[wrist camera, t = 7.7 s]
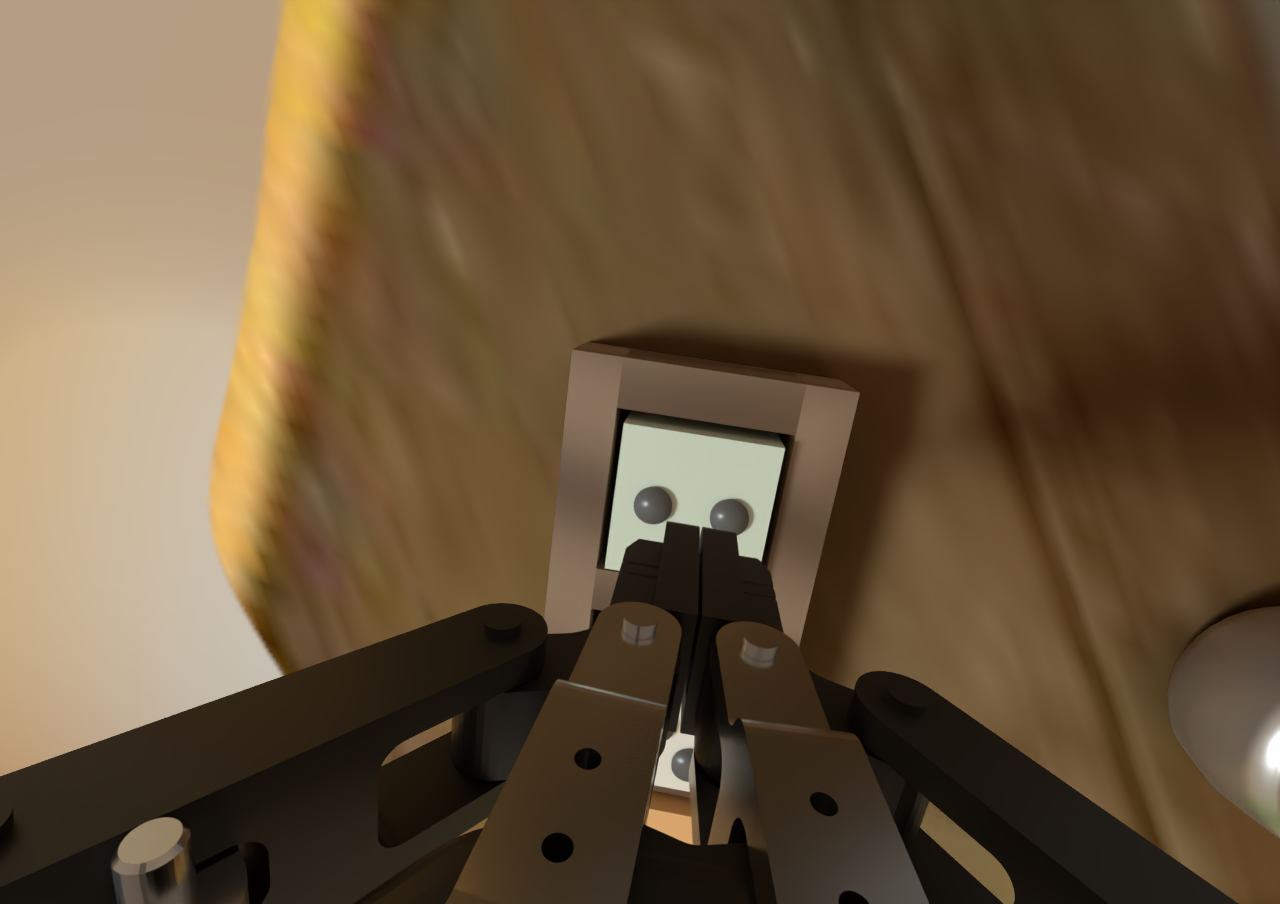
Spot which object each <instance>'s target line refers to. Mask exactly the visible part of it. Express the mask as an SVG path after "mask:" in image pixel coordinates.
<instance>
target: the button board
mask: <svg viewBox="0 0 1280 904" xmlns="http://www.w3.org/2000/svg"><path fill="white" fill-rule="evenodd" d="M859 395H860V392H858V391H857V390H855V389H854V388H852V387H851V386H849V385H848V384H846V383H845V382H843V381H842V380H840V379H836V378H829V377H822V376H816V375H809V374H802V373H795V372H789V371H782V370H775V369H769V368H762V367H755V366H748V365H742V364H735V363H728V362H721V361H715V360H708V359H701V358H695V357H688V356H681V355H674V354H668V353H661V352H654V351H648V350H641V349H634V348H627V347H621V346H614V345H607V344H600V343H594V342H587V343H585V344H582V345H580V346H578V347H576V348H574V349H572V357H571V366H570V376H569V385H568V395H567V404H566V414H565V424H564V433H563V443H562V452H561V462H560V471H559V481H558V491H557V500H556V510H555V519H554V529H553V539H552V548H551V558H550V567H549V577H548V586H547V596H546V606H545V615H544V620H545V621H546V623H547V626H548V634H558V633H574V632H579V631H583V630H587V629H589V628H592V627H593V626H594V624H595V621H596V619H597V617H598V610H603V609H605V608H606V607H608V606H610V603H611V599H612V596H613V592H614V589H615V585H616V582H617V578H618V575H619V571H618V570H612V569H606V568H605V561H606V554H607V546H608V539H609V536H608V533H609V526H610V518H611V511H612V503H613V496H614V488H615V480H616V473H617V465H618V458H619V450H620V443H621V435H622V427H623V420H624V412H625V409H628V410H634V411H641V412H647V413H653V414H660V415H666V416H673V417H679V418H686V419H692V420H699V421H705V422H712V423H718V424H725V425H731V426H738V427H744V428H750V429H757V430H763V431H770V432H776V433H781V434H780V439H781V441H782V443H783V445H784V447H785V452H784V456H783V461H782V466H781V471H780V475H779V480H778V485H777V489H776V494H775V499H774V504H773V508H772V513H771V518H770V523H769V527H768V532H767V537H766V542H765V546H764V551H763V556H762V561H761V562H762V563H763V565H764V566H765V567H766V568H767V569H768V570H769V571H770V572H771V576H772V581H773V589H774V590H775V595H776V600H777V604H778V609H779V613H780V618H781V623H782V627H783V632H784V634H786V635H787V636H789V637H790V638H791V639H792V640H793V641H794V642H795V643H796V644H797V645H798V646H799V645H800V640H801V636H802V632H803V628H804V624H805V620H806V616H807V611H808V607H809V603H810V599H811V595H812V591H813V586H814V582H815V578H816V574H817V570H818V566H819V561H820V557H821V553H822V549H823V545H824V541H825V536H826V532H827V528H828V524H829V520H830V516H831V512H832V507H833V503H834V499H835V495H836V491H837V487H838V482H839V478H840V474H841V470H842V466H843V462H844V457H845V453H846V449H847V445H848V441H849V437H850V432H851V428H852V424H853V420H854V416H855V412H856V408H857V403H858V399H859ZM653 791H657V792H662V793H667V794H673V795H678V796H683V797H688V798H690V792H687V791H682V790H676V789H671V788H666V787H661V786H655V785H654V788H653Z"/></svg>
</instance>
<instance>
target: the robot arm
mask: <svg viewBox="0 0 1280 904" xmlns="http://www.w3.org/2000/svg"><path fill="white" fill-rule="evenodd" d="M680 708H681V721H680V733H682V734H688V735H693V736H694V749H693V754H692V759H691V764H690V769H689V789H690V805H691V822H692V839H693V845H692V844H688V843H685V842H683V841H680V840H678V839H676V838H674V837H671V836H669V835H667V834H665V833H662V832H660V831H658V830H656V829H654V828H651V827H649V826H647V825H646V824H647V819H648V814H649V808H650V803H651V798H652V793H653V788H654V783H655V777H656V772H657V767H658V761H659V757H660V756H661V754H662V753H663V751H664V749H665V745H666V740H667V734H668V731H671V732H676V730H677V724H678V719H679V714H680ZM450 718H452V731H451V732H449V733H447V734H445V735H443V736H441V737H439V738H437V739H435V740H433V741H431V742H429V743H427V744H425V745H423V746H421V747H419V748H417V749H415V750H413V751H411V752H409V753H407V754H405V755H403V756H401V757H399V758H397V759H395V760H393V761H391V762H389V763H387V764H385V765H383V766H381V765H382V763H383V761H384V760H385V758H386V757H387V756H388V754H389V753H390V752H391V751H392V750H393V749H394V748H395V747H396V746H398V745H399V744H400V743H402V742H403V741H405V740H407V739H409V738H411V737H413V736H415V735H417V734H419V733H421V732H423V731H426V730H428V729H430V728H432V727H434V726H436V725H438V724H440V723H442V722H444V721H446V720H448V719H450ZM929 801H930V802H932V803H933V804H934V805H935V806H936V807H937V808H939V809H940V810H941V811H942V812H943V813H944V814H946V815H947V816H948V817H949V818H950V819H951V820H952V821H954V822H955V823H956V824H957V825H958V826H959V827H961V828H962V829H963V830H964V831H965V832H966V833H968V834H969V835H970V836H971V837H972V838H973V839H975V840H976V841H977V842H978V843H979V844H980V845H982V846H983V847H984V848H985V849H986V850H987V851H988V852H990V853H991V854H992V855H993V856H994V857H995V858H996V859H997V860H998V861H999V862H1000V863H1001V864H1002V866H1003V867H1004V869H1005V870H1006V872H1007V873H1008V875H1009V877H1010V879H1011V881H1012V884H1013V887H1014V892H1015V901H1014V904H1238V903H1237V902H1235V901H1234V900H1232V899H1231V898H1229V897H1228V896H1227V895H1225V894H1224V893H1222V892H1221V891H1219V890H1218V889H1217V888H1215V887H1214V886H1212V885H1211V884H1209V883H1208V882H1207V881H1205V880H1204V879H1202V878H1201V877H1199V876H1198V875H1197V874H1195V873H1194V872H1192V871H1191V870H1189V869H1188V868H1187V867H1185V866H1184V865H1182V864H1181V863H1179V862H1178V861H1177V860H1175V859H1174V858H1172V857H1171V856H1169V855H1168V854H1166V853H1165V852H1164V851H1162V850H1161V849H1159V848H1158V847H1156V846H1155V845H1154V844H1152V843H1151V842H1149V841H1148V840H1146V839H1145V838H1144V837H1142V836H1141V835H1139V834H1138V833H1136V832H1135V831H1134V830H1132V829H1131V828H1129V827H1128V826H1126V825H1125V824H1124V823H1122V822H1121V821H1119V820H1118V819H1116V818H1115V817H1114V816H1112V815H1111V814H1109V813H1108V812H1106V811H1105V810H1104V809H1102V808H1101V807H1099V806H1098V805H1096V804H1095V803H1093V802H1092V801H1091V800H1089V799H1088V798H1086V797H1085V796H1083V795H1082V794H1081V793H1079V792H1078V791H1076V790H1075V789H1073V788H1072V787H1071V786H1069V785H1068V784H1066V783H1065V782H1063V781H1062V780H1061V779H1059V778H1058V777H1056V776H1055V775H1053V774H1052V773H1051V772H1049V771H1048V770H1046V769H1045V768H1043V767H1042V766H1041V765H1039V764H1038V763H1036V762H1035V761H1033V760H1032V759H1030V758H1029V757H1028V756H1026V755H1025V754H1023V753H1022V752H1020V751H1019V750H1018V749H1016V748H1015V747H1013V746H1012V745H1010V744H1009V743H1008V742H1006V741H1005V740H1003V739H1002V738H1000V737H999V736H998V735H996V734H995V733H993V732H992V731H990V730H989V729H988V728H986V727H985V726H983V725H982V724H980V723H979V722H978V721H976V720H975V719H973V718H972V717H970V716H969V715H968V714H966V713H965V712H963V711H962V710H960V709H959V708H957V707H956V706H955V705H953V704H952V703H950V702H949V701H947V700H946V699H945V698H943V697H942V696H940V695H939V694H937V693H936V692H935V691H933V690H932V689H930V688H929V687H927V686H925V685H924V684H922V683H920V682H918V681H916V680H914V679H911V678H909V677H906V676H903V675H900V674H896V673H892V672H885V671H874V672H869V673H865V674H863V675H862V676H860V677H859V678H858V680H857V682H856V685H855V688H854V690H852V689H850V688H847V687H844V686H842V685H839V684H837V683H834V682H832V681H829V680H827V679H824V678H822V677H820V676H818V675H816V674H814V673H813V672H811V671H810V670H808V668H807V665H806V662H805V659H804V657H803V654H802V652H801V650H800V648H799V646H798V645H797V644H796V643H795V642H794V641H793V640H792V639H791V638H790V637H789V636H787V635H786V634H784V632H783V627H782V623H781V618H780V613H779V609H778V604H777V600H776V595H775V590H774V589H773V581H772V576H771V572H770V571H769V570H768V569H767V568H766V567H765V566H764V565H763V563H762V562H761V561H760V560H759V559H757V558H751V557H745V556H739V550H738V542H737V534H736V532H732V531H726V530H720V529H714V528H708V527H702V530H701V534H700V526H695V525H689V524H683V523H677V522H671V521H667V522H666V528H665V535H664V541H663V543H662V542H656V541H650V540H644V539H638V540H636V541H635V542H633V543H632V544H631V545H629V546H628V547H626V550H625V553H624V557H623V561H622V564H621V568H620V571H619V575H618V578H617V582H616V585H615V589H614V592H613V596H612V599H611V603H610V606H608V607H606V608H605V609H603V610H602V611H601V612H600V614H599V615H598V617H597V619H596V621H595V624H594V626H593V627H592V628H589V629H587V630H583V631H579V632H574V633H558V634H548V626H547V623H546V621H545V620H544V618H543V617H542V616H541V615H540V614H538V613H537V612H535V611H534V610H532V609H529V608H527V607H524V606H521V605H516V604H508V603H497V604H489V605H484V606H480V607H477V608H474V609H471V610H468V611H466V612H463V613H460V614H457V615H454V616H452V617H449V618H446V619H443V620H440V621H437V622H435V623H432V624H429V625H426V626H423V627H421V628H418V629H415V630H412V631H409V632H406V633H404V634H401V635H398V636H395V637H392V638H389V639H387V640H384V641H381V642H378V643H375V644H373V645H370V646H367V647H364V648H361V649H358V650H356V651H353V652H350V653H347V654H344V655H342V656H339V657H336V658H333V659H330V660H327V661H325V662H322V663H319V664H316V665H313V666H311V667H308V668H305V669H302V670H299V671H296V672H294V673H291V674H288V675H285V676H282V677H280V678H277V679H274V680H271V681H268V682H265V683H263V684H260V685H257V686H254V687H252V688H249V689H246V690H243V691H240V692H238V693H235V694H232V695H229V696H226V697H223V698H220V699H218V700H215V701H212V702H209V703H206V704H203V705H201V706H198V707H195V708H192V709H189V710H187V711H184V712H181V713H178V714H176V715H172V716H170V717H167V718H164V719H161V720H158V721H155V722H153V723H150V724H147V725H144V726H142V727H139V728H136V729H133V730H130V731H127V732H125V733H122V734H119V735H116V736H113V737H110V738H108V739H105V740H102V741H99V742H96V743H93V744H91V745H88V746H85V747H82V748H80V749H77V750H74V751H71V752H68V753H65V754H63V755H60V756H57V757H54V758H51V759H48V760H45V761H43V762H40V763H37V764H35V765H31V766H29V767H26V768H23V769H20V770H17V771H15V772H12V773H9V774H6V775H3V776H0V904H1003V903H1002V902H1001V901H1000V900H999V899H998V898H996V897H995V896H994V895H993V894H992V893H991V892H990V891H989V890H988V889H987V888H986V887H984V886H983V885H982V884H981V883H980V882H979V881H978V880H977V879H976V878H975V877H973V876H972V875H971V874H970V873H969V872H968V871H967V870H966V869H965V868H964V867H962V866H961V865H960V864H959V863H958V862H957V861H956V860H955V859H954V858H953V857H952V856H950V855H949V854H948V853H947V852H946V851H945V850H944V849H943V848H942V847H941V846H939V845H938V844H937V843H936V842H935V841H934V840H933V839H932V838H931V837H930V836H929V835H927V834H926V833H925V832H924V831H923V830H922V829H921V828H920V825H921V822H922V820H923V817H924V814H925V811H926V808H927V806H928V803H929ZM487 817H488V819H487V821H486V823H485V826H484V828H482V829H478V830H475V831H472V832H469V833H467V834H464V835H462V836H459V835H461V834H462V833H464V832H465V831H467V830H469V829H470V828H472V827H473V826H475V825H476V824H478V823H479V822H481V821H482V820H484V819H486V818H487ZM458 836H459V837H458ZM456 837H457V838H456Z"/></svg>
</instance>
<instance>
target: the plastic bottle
mask: <svg viewBox="0 0 1280 904" xmlns="http://www.w3.org/2000/svg"><path fill="white" fill-rule="evenodd" d="M1167 691H1168V706H1169V716H1170V723H1171V726H1172V729H1173V732H1174V734H1175V737H1176V738H1177V740H1178V741H1179V743H1180V744H1181V746H1182V747H1183V749H1184V750H1185V751H1186V753H1187V754H1188V755H1189V757H1190V758H1191V759H1192V761H1193V762H1194V763H1195V764H1196V766H1197V767H1198V768H1199V770H1200V771H1201V772H1202V774H1203V775H1204V776H1205V778H1206V779H1207V780H1208V782H1209V783H1210V784H1211V785H1212V786H1213V787H1214V788H1215V789H1216V790H1217V791H1219V792H1220V793H1221V794H1222V795H1223V796H1224V797H1225V798H1227V799H1228V800H1229V801H1231V802H1232V803H1233V804H1234V805H1236V806H1237V807H1238V808H1240V809H1241V810H1242V811H1244V812H1245V813H1246V814H1247V815H1249V816H1250V817H1251V818H1253V819H1254V820H1255V821H1257V822H1258V823H1259V824H1260V825H1262V826H1263V827H1264V828H1266V829H1267V830H1268V831H1270V832H1271V833H1273V834H1274V835H1276V836H1277V837H1279V838H1280V606H1277V607H1263V608H1258V609H1253V610H1248V611H1244V612H1241V613H1238V614H1235V615H1233V616H1230V617H1227V618H1225V619H1224V620H1222V621H1220V622H1218V623H1216V624H1214V625H1212V626H1211V627H1209V628H1208V629H1207V630H1205V631H1204V632H1202V633H1201V634H1200V635H1198V636H1197V637H1196V638H1195V639H1194V640H1193V641H1192V642H1191V643H1190V644H1189V645H1188V646H1187V647H1186V648H1185V649H1184V651H1183V652H1182V654H1181V655H1180V657H1179V658H1178V660H1177V661H1176V663H1175V665H1174V668H1173V670H1172V672H1171V675H1170V678H1169V684H1168V689H1167Z"/></svg>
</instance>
